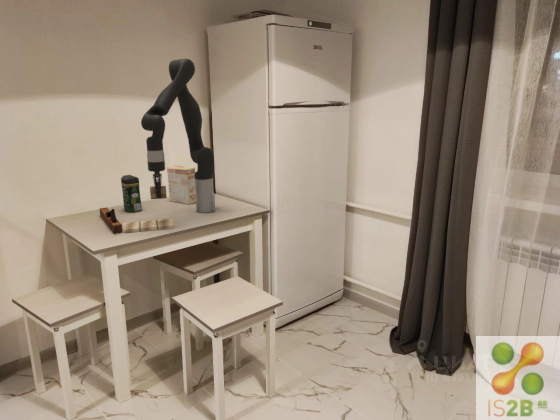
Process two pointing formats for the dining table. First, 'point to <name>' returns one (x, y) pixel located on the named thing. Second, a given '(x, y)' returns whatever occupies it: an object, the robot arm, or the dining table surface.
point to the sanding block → (153, 192)
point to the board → (148, 225)
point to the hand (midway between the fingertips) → (158, 196)
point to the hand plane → (111, 220)
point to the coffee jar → (131, 193)
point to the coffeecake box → (181, 184)
